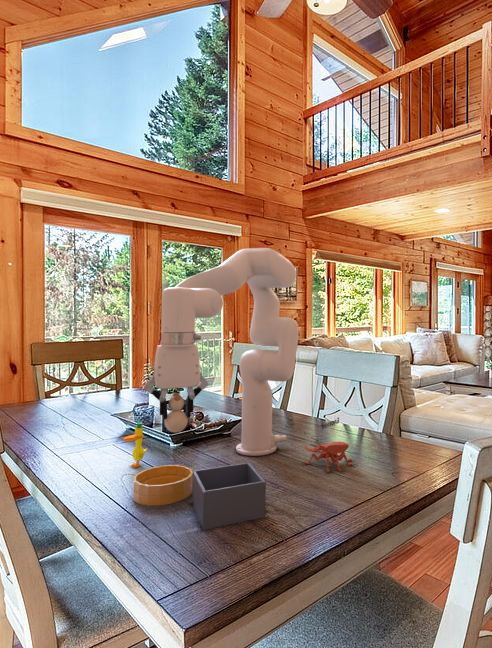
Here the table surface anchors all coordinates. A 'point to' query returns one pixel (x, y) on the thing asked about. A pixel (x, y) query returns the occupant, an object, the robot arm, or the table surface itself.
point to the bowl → (162, 485)
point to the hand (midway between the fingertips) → (176, 416)
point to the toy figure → (137, 444)
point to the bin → (228, 495)
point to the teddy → (176, 414)
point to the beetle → (330, 450)
